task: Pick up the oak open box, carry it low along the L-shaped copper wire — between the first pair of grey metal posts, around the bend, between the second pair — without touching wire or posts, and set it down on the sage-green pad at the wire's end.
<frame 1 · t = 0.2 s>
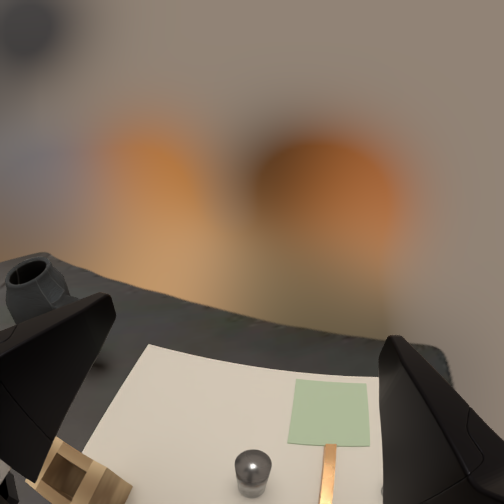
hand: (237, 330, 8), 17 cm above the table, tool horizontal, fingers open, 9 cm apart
oak open box: (95, 495, 12), resting on course mat
course mat: (244, 487, 15), on the table
dark grey holder: (72, 356, 25), on the table
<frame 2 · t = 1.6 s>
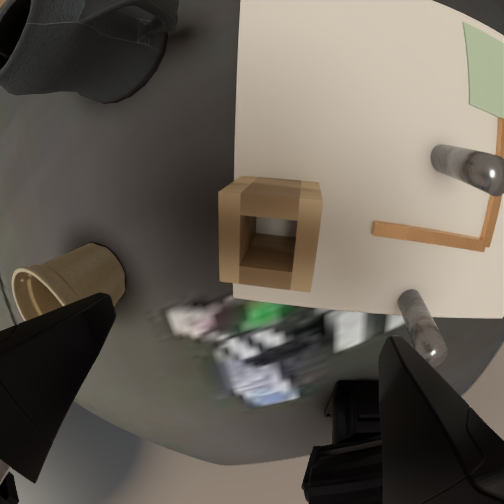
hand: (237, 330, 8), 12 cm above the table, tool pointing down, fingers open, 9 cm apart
oak open box: (277, 215, 18), resting on course mat
course mat: (434, 156, 15), on the table
wire and posts: (494, 235, 12), on the course mat
flower pot: (103, 270, 24), on the table
dark grey holder: (134, 47, 15), on the table
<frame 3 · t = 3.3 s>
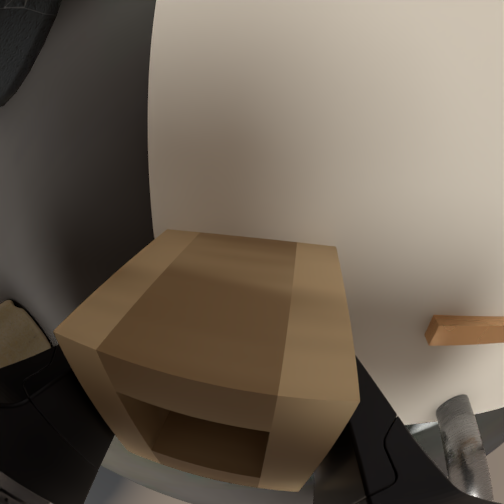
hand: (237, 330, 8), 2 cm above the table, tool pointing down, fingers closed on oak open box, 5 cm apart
oak open box: (245, 308, 9), resting on course mat, touching gripper
flower pot: (31, 332, 15), on the table
dark grey holder: (28, 19, 6), on the table
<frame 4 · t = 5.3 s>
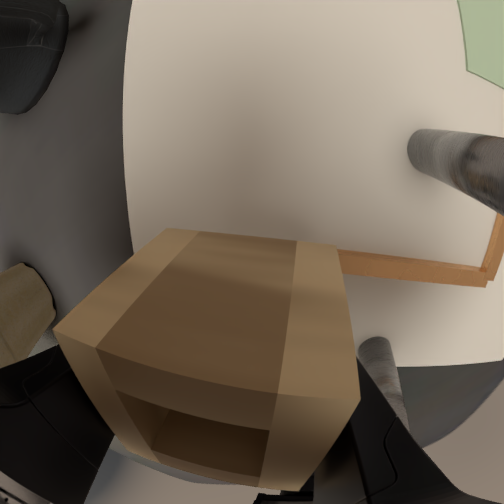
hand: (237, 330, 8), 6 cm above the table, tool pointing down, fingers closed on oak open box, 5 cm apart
oak open box: (245, 307, 9), point 5 cm above the table, touching gripper
course mat: (414, 148, 10), on the table
flower pot: (37, 291, 20), on the table
dark grey holder: (42, 48, 10), on the table
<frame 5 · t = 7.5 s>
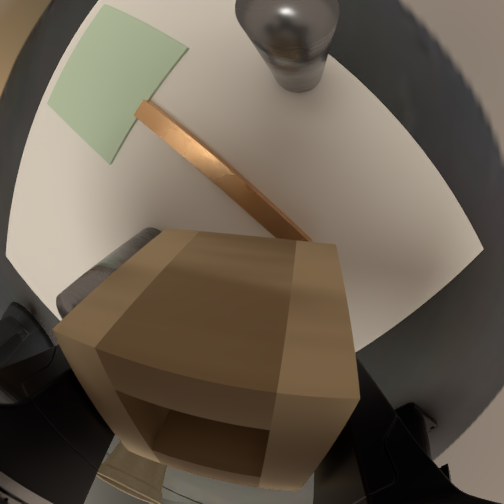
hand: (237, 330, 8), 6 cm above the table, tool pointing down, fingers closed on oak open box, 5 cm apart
oak open box: (245, 307, 9), point 5 cm above the table, touching gripper
course mat: (152, 248, 15), on the table
wire and posts: (235, 280, 10), on the course mat
flower pot: (150, 440, 28), on the table
dark grey holder: (33, 328, 23), on the table
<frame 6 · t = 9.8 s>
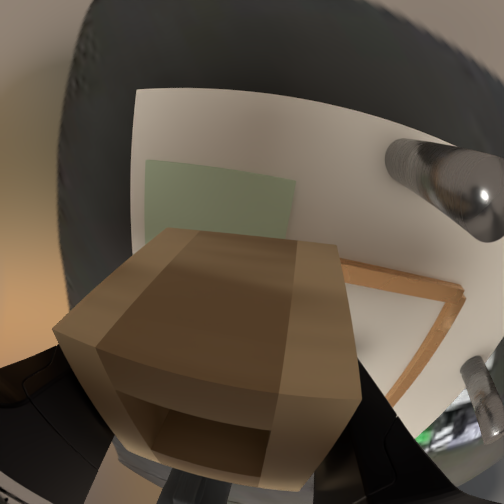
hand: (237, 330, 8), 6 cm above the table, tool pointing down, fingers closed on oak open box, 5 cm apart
oak open box: (245, 307, 9), point 5 cm above the table, touching gripper
course mat: (335, 354, 15), on the table
wire and posts: (438, 354, 10), on the course mat
dark grey holder: (208, 453, 26), on the table
when the fingers open (3 cm above the table, at t = 11.8 s): oak open box stays where it is, resting on course mat.
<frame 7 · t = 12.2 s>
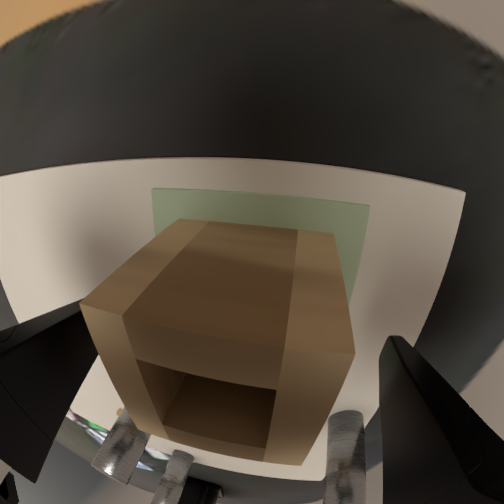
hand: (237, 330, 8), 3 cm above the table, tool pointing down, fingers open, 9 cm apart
oak open box: (250, 292, 10), point 1 cm above the table, touching course mat
course mat: (150, 380, 15), on the table
wire and posts: (206, 472, 12), on the course mat
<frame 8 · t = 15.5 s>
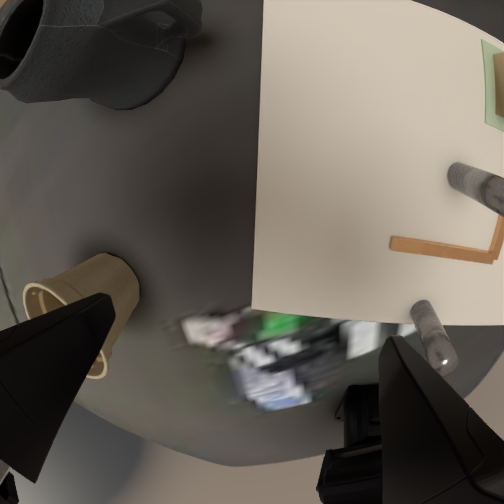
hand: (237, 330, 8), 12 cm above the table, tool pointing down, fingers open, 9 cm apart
course mat: (450, 173, 15), on the table
flower pot: (116, 280, 25), on the table
dark grey holder: (149, 51, 15), on the table
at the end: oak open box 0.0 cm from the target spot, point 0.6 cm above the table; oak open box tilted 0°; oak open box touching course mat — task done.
